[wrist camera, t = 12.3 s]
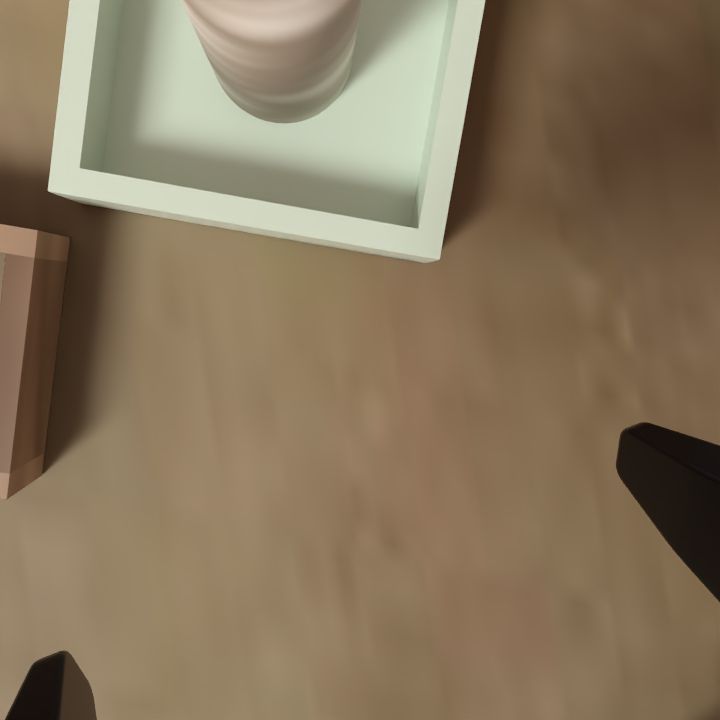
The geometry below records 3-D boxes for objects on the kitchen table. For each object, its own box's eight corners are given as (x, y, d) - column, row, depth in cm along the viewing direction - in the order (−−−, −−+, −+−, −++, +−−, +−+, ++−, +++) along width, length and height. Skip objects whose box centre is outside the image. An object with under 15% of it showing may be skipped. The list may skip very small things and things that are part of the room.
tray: (486, -91, 21) (510, -143, 18) (424, 263, 22) (439, 259, 19) (125, -174, 20) (97, -242, 17) (79, 203, 21) (47, 191, 18)
